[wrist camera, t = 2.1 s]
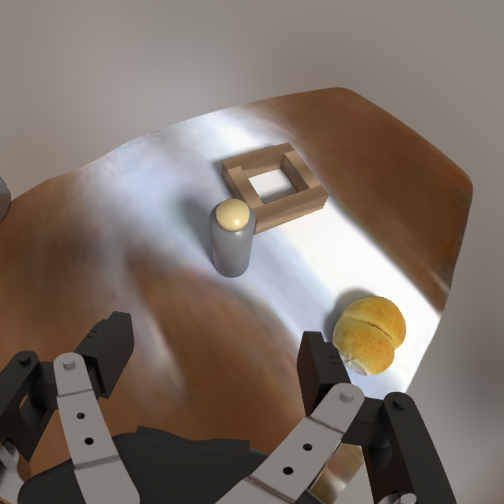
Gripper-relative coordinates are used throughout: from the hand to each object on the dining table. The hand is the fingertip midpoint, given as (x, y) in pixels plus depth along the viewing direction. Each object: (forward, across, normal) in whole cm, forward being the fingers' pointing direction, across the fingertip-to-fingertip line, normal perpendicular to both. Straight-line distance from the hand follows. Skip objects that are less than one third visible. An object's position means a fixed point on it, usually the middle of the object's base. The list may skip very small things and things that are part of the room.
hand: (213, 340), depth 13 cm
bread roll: (+15, -16, +10) cm, 24 cm away
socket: (+28, -4, -4) cm, 29 cm away
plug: (+21, 0, +4) cm, 21 cm away
